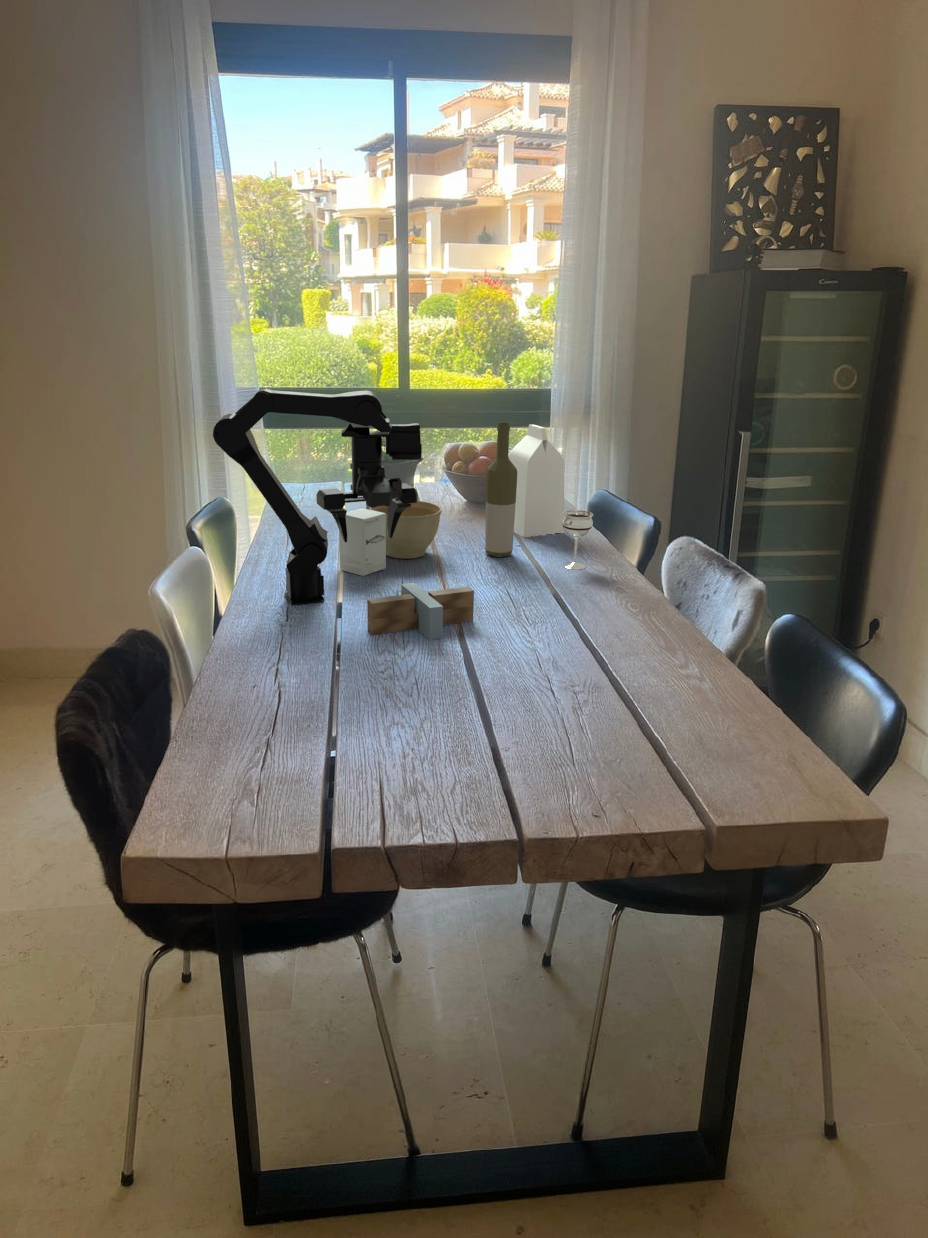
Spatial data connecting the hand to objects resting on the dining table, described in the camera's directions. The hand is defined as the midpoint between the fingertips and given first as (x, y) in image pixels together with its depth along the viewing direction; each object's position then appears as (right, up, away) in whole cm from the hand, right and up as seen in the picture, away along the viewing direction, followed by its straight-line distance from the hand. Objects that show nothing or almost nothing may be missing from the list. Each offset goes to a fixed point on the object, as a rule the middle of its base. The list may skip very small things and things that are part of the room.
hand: (368, 539), depth 184 cm
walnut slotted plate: (+11, -17, -9) cm, 22 cm away
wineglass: (+43, -4, +28) cm, 52 cm away
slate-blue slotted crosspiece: (+11, -17, -10) cm, 22 cm away
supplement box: (-3, -5, +22) cm, 22 cm away
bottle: (+27, -1, +35) cm, 44 cm away
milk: (+36, +7, +56) cm, 67 cm away
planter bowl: (+5, -1, +33) cm, 34 cm away
